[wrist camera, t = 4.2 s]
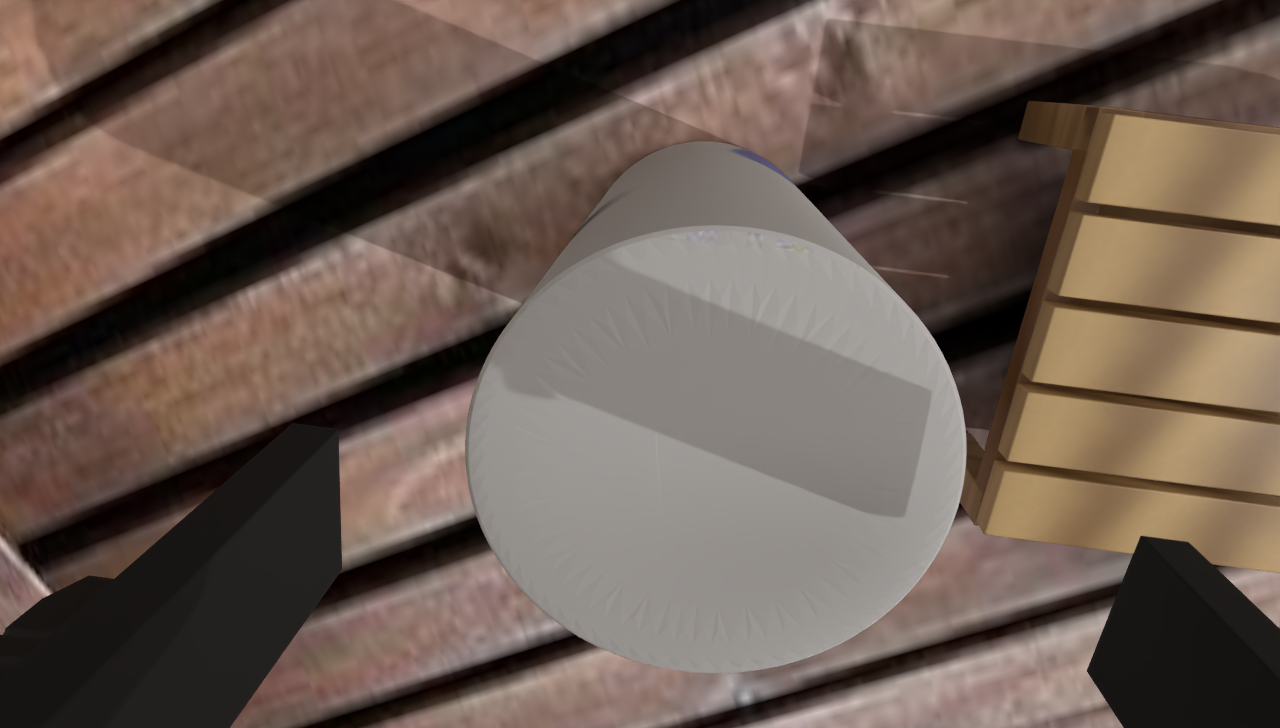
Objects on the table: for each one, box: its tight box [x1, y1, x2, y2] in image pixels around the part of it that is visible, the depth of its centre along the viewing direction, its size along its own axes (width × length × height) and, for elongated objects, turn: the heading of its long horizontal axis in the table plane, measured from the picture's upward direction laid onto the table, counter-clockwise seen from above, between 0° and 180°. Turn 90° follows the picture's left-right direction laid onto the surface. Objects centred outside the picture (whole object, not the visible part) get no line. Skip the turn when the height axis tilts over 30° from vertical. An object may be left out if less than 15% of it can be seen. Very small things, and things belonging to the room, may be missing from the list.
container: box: [465, 141, 966, 673], centre depth 25 cm, size 10×10×20 cm
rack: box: [960, 101, 1280, 573], centre depth 31 cm, size 16×16×7 cm
